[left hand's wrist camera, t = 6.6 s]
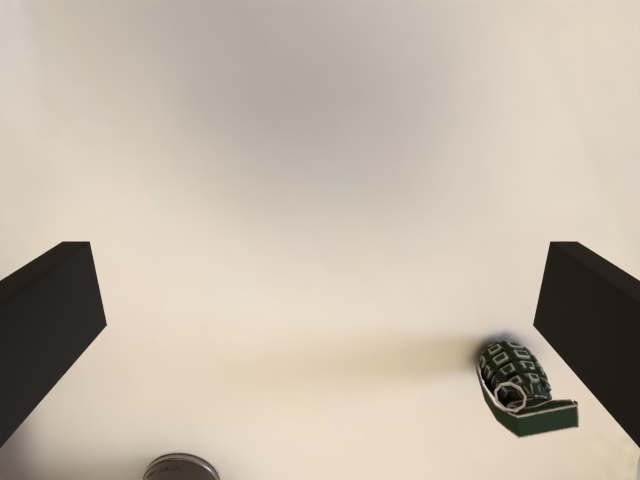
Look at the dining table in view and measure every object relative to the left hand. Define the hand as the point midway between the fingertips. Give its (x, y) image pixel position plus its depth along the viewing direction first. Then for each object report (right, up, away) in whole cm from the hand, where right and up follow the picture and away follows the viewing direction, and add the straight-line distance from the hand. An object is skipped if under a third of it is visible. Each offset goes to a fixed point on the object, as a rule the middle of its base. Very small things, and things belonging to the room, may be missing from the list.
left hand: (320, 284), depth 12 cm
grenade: (+19, -11, +34) cm, 41 cm away
